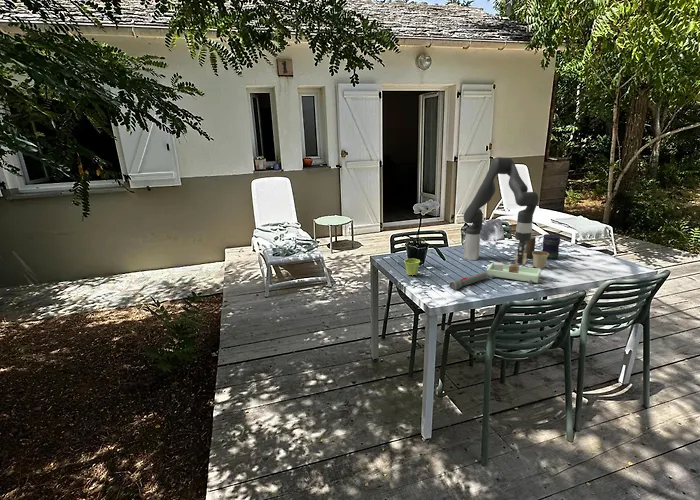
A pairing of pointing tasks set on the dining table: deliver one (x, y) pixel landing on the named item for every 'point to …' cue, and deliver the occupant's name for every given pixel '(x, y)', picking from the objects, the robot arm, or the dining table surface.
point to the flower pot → (539, 258)
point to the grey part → (498, 266)
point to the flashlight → (467, 280)
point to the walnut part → (514, 268)
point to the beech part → (523, 258)
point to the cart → (523, 274)
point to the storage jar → (551, 246)
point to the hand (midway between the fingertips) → (520, 262)
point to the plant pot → (412, 266)
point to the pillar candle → (530, 247)
